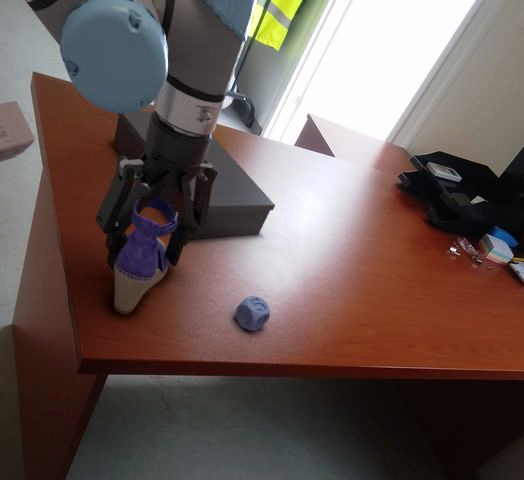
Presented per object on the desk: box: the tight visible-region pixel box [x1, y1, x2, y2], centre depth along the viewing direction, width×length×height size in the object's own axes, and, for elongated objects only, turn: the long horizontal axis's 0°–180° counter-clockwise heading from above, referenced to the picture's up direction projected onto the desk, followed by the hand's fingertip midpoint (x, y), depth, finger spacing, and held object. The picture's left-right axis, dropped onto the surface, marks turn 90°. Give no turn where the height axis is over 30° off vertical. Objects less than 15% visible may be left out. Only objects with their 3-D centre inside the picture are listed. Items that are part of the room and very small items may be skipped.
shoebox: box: [112, 110, 276, 240], centre depth 91 cm, size 31×19×7 cm, turn 39°
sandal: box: [113, 197, 178, 315], centre depth 66 cm, size 8×20×15 cm, turn 171°
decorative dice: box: [235, 295, 271, 331], centre depth 73 cm, size 4×4×4 cm
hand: (142, 263), depth 70 cm, fingers closed on sandal, 9 cm apart
